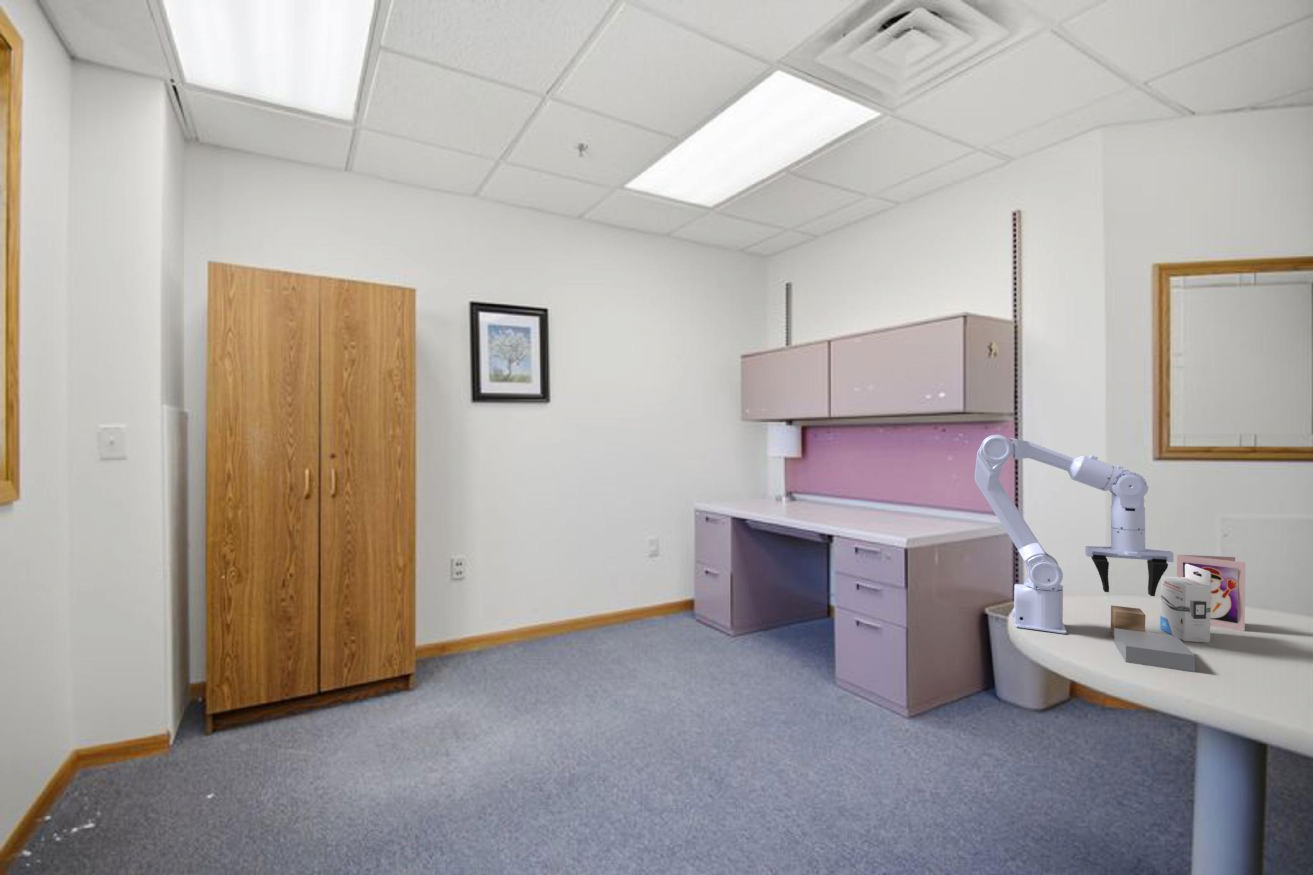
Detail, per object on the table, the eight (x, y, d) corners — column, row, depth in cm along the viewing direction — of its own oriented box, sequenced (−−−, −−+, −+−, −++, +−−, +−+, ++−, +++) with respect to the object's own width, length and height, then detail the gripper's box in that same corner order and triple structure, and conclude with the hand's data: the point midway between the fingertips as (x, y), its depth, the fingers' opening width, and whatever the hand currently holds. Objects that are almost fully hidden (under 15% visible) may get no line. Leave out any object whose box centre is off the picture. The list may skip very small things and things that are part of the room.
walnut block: (1114, 639, 127) (1115, 611, 127) (1110, 633, 132) (1110, 605, 131) (1145, 644, 125) (1145, 614, 125) (1139, 636, 129) (1140, 608, 129)
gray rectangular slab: (1125, 661, 115) (1125, 645, 115) (1114, 642, 125) (1114, 628, 125) (1194, 672, 110) (1195, 655, 110) (1176, 651, 120) (1176, 636, 120)
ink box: (1158, 628, 135) (1159, 561, 134) (1184, 630, 134) (1185, 562, 133) (1183, 641, 126) (1184, 570, 126) (1211, 643, 125) (1212, 571, 125)
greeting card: (1175, 619, 141) (1176, 555, 141) (1180, 613, 146) (1181, 551, 146) (1244, 631, 133) (1245, 563, 132) (1247, 624, 138) (1247, 558, 137)
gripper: (1088, 528, 128) (1089, 593, 128) (1177, 533, 121) (1178, 601, 121) (1083, 524, 134) (1084, 586, 134) (1167, 528, 127) (1168, 593, 127)
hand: (1128, 593), depth 128 cm, fingers open, 7 cm apart
